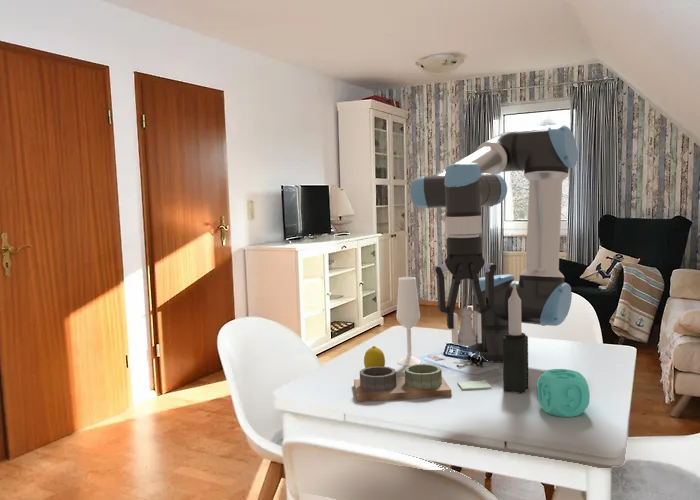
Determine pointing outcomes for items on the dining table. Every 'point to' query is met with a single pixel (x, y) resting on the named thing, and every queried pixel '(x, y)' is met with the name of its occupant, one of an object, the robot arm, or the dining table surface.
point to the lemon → (374, 358)
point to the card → (474, 385)
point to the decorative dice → (563, 392)
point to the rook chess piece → (466, 328)
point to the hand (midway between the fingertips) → (466, 342)
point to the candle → (515, 349)
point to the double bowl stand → (401, 383)
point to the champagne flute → (408, 313)
